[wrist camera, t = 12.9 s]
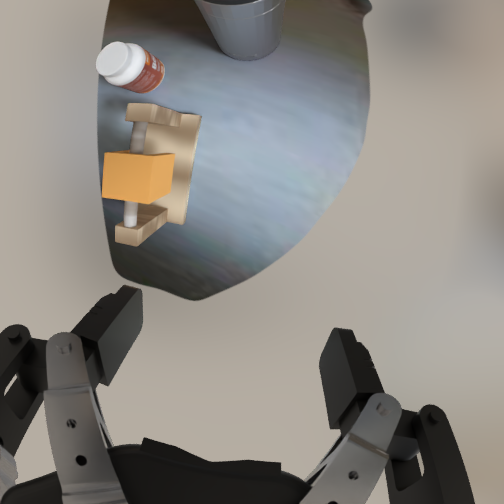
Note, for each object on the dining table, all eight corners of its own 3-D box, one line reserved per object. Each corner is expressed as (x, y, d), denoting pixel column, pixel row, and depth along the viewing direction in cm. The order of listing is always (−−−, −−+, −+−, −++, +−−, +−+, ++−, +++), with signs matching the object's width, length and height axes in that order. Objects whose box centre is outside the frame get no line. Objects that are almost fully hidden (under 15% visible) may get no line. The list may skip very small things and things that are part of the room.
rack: (151, 112, 34) (109, 103, 23) (201, 116, 35) (174, 104, 24) (138, 213, 40) (98, 237, 29) (185, 221, 41) (156, 250, 29)
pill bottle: (174, 73, 32) (143, 51, 22) (144, 101, 34) (106, 91, 24) (150, 51, 31) (116, 28, 20) (123, 79, 32) (83, 65, 22)
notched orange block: (133, 149, 31) (104, 152, 25) (175, 153, 31) (153, 156, 25) (129, 186, 33) (101, 197, 26) (170, 192, 33) (148, 204, 26)
